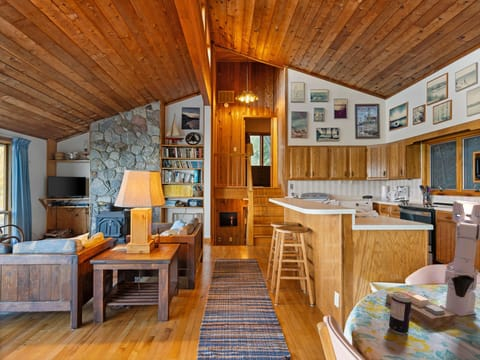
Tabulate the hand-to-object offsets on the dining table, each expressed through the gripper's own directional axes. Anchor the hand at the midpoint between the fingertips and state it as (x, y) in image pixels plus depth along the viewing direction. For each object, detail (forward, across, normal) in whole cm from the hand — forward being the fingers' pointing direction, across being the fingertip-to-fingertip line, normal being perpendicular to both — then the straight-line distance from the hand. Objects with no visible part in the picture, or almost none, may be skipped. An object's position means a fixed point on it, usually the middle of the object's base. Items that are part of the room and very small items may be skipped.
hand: (459, 296), depth 104 cm
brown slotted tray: (+10, +5, -11) cm, 16 cm away
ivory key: (+7, +5, -11) cm, 14 cm away
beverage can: (+11, +24, -4) cm, 27 cm away
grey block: (+8, +5, -5) cm, 11 cm away
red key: (+8, +4, -17) cm, 19 cm away
